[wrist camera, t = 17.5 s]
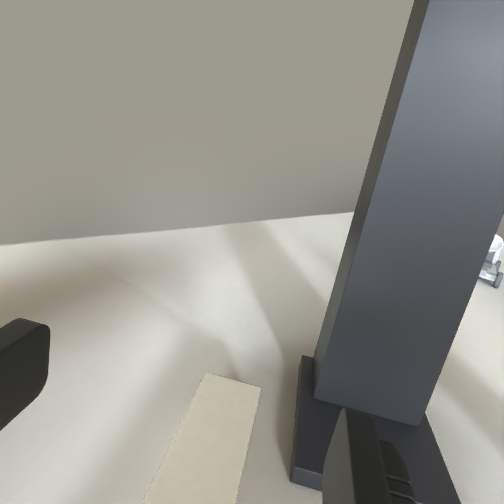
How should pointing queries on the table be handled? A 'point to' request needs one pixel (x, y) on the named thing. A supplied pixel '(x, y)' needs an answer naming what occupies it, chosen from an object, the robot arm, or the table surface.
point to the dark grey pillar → (413, 244)
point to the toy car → (493, 262)
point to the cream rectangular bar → (208, 446)
